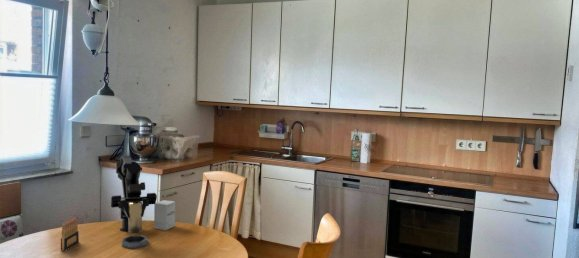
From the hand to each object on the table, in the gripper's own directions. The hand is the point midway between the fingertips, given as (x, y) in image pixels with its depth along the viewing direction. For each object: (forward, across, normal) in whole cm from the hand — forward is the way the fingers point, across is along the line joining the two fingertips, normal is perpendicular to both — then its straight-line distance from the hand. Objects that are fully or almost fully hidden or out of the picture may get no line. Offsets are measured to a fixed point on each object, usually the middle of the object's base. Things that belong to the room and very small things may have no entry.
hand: (135, 217), depth 184 cm
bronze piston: (+4, 0, +6) cm, 7 cm away
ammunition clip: (+3, -25, +15) cm, 30 cm away
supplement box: (-5, +16, +24) cm, 29 cm away
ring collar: (+8, 0, +10) cm, 13 cm away
